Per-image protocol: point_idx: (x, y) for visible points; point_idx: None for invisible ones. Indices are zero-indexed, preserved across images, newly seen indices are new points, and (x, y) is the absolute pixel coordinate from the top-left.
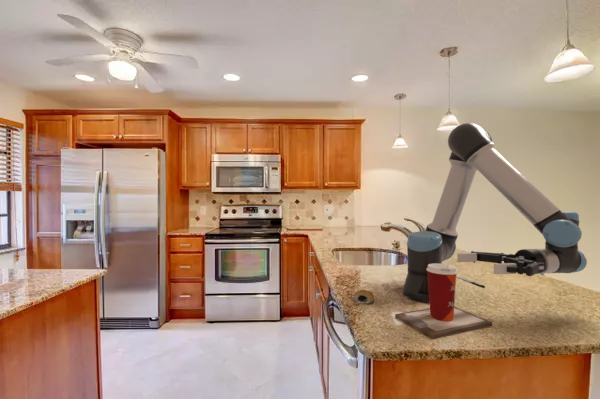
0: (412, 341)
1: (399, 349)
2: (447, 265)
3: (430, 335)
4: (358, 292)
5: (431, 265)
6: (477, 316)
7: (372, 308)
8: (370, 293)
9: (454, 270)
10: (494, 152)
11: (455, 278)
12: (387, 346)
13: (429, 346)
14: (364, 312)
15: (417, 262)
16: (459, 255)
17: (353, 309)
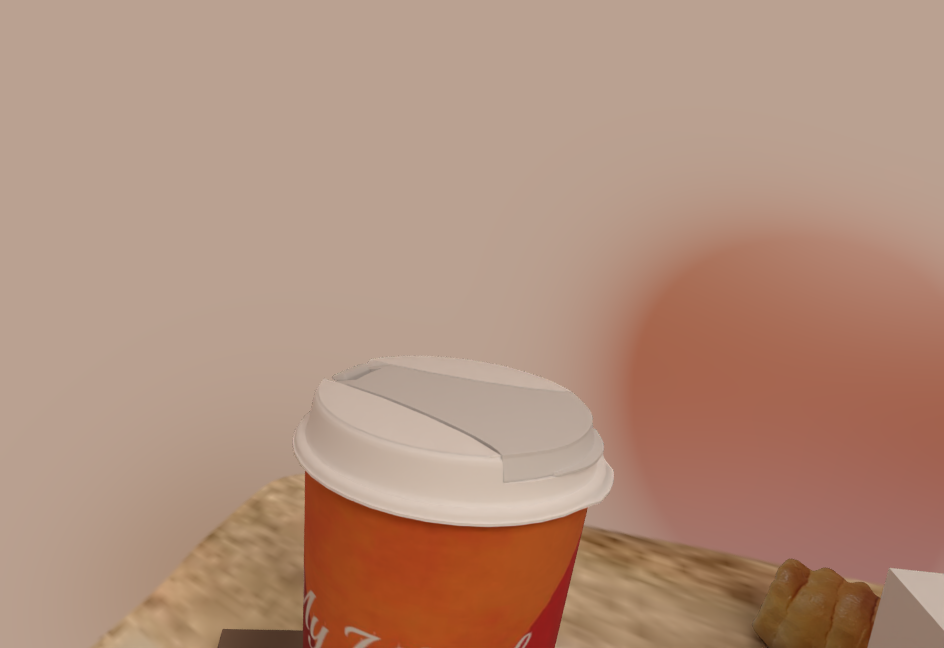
0: (255, 578)
1: (233, 521)
2: (469, 431)
3: (230, 633)
4: (821, 570)
5: (505, 376)
6: None
7: (685, 627)
8: (834, 619)
9: (314, 420)
10: None
11: (314, 521)
12: (275, 507)
13: (176, 602)
14: (622, 577)
15: None
16: (883, 615)
17: (664, 560)
